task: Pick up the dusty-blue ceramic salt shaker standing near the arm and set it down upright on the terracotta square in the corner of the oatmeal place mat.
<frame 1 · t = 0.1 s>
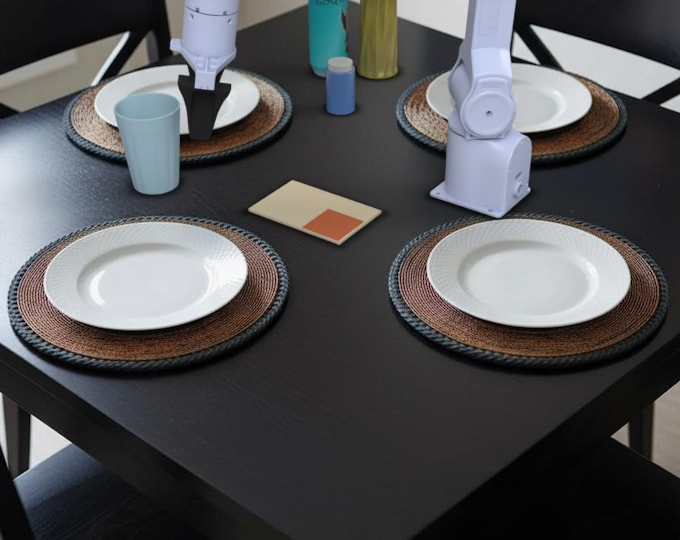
hand: (200, 123, 117), 11 cm above the table, tool pointing down, fingers open, 7 cm apart
cup: (156, 185, 128), on the table
place mat: (314, 212, 121), on the table
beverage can: (329, 72, 156), on the table
salt shaker: (340, 108, 145), on the table
vase: (377, 73, 156), on the table
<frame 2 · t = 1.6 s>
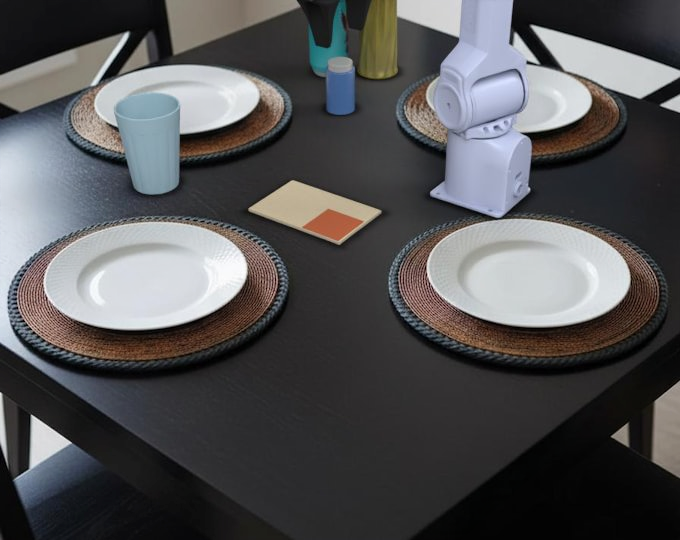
hand: (339, 37, 139), 10 cm above the table, tool pointing down, fingers open, 7 cm apart
nothing on the table moved.
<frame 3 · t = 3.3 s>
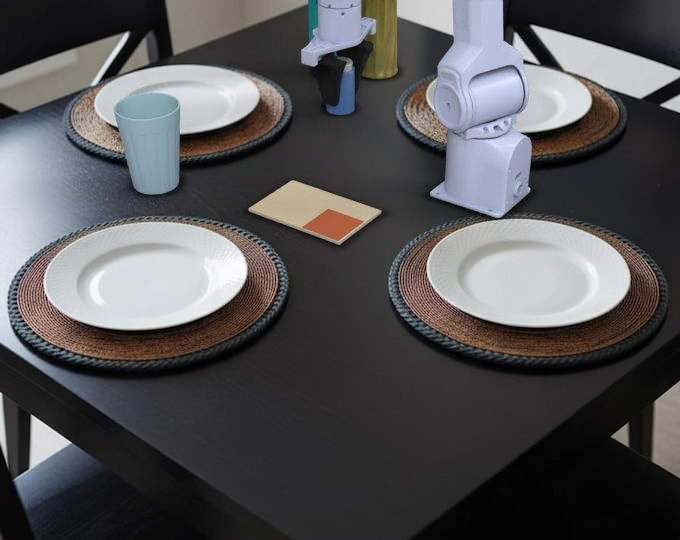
hand: (340, 98, 144), 2 cm above the table, tool pointing down, fingers closed on salt shaker, 4 cm apart
salt shaker: (340, 108, 145), on the table, touching gripper
everything else where it was.
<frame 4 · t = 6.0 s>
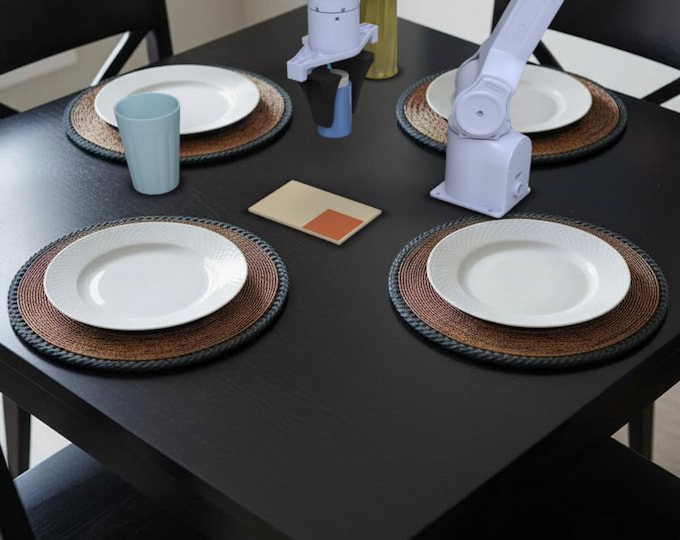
hand: (335, 118, 122), 9 cm above the table, tool pointing down, fingers closed on salt shaker, 4 cm apart
salt shaker: (334, 130, 123), point 7 cm above the table, touching gripper
everything else where it was.
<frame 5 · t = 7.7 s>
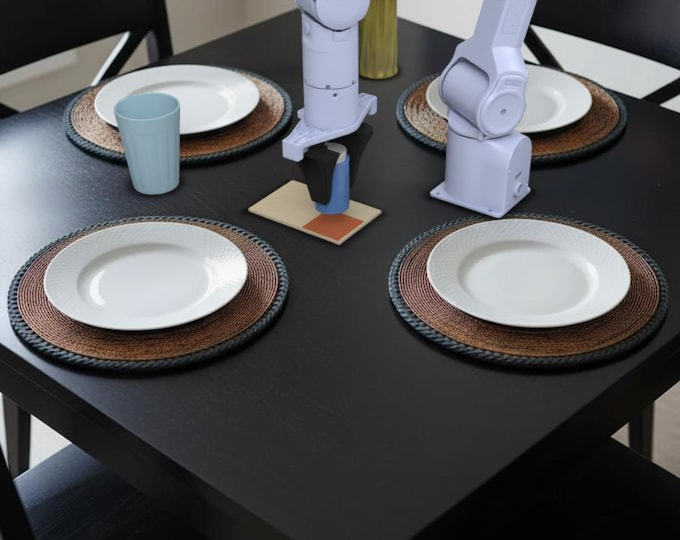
hand: (332, 193, 116), 4 cm above the table, tool pointing down, fingers closed on salt shaker, 4 cm apart
salt shaker: (331, 205, 117), point 3 cm above the table, touching gripper
everything else where it was.
when the fingers open (2 cm above the table, at t = 8.8 s): salt shaker stays where it is, resting on place mat.
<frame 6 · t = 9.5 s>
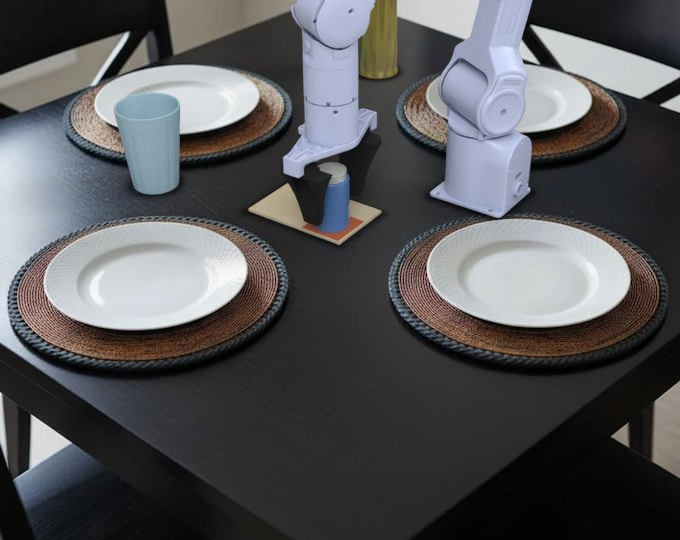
hand: (333, 208, 117), 3 cm above the table, tool pointing down, fingers open, 7 cm apart
salt shaker: (332, 224, 118), resting on place mat
everything else where it was.
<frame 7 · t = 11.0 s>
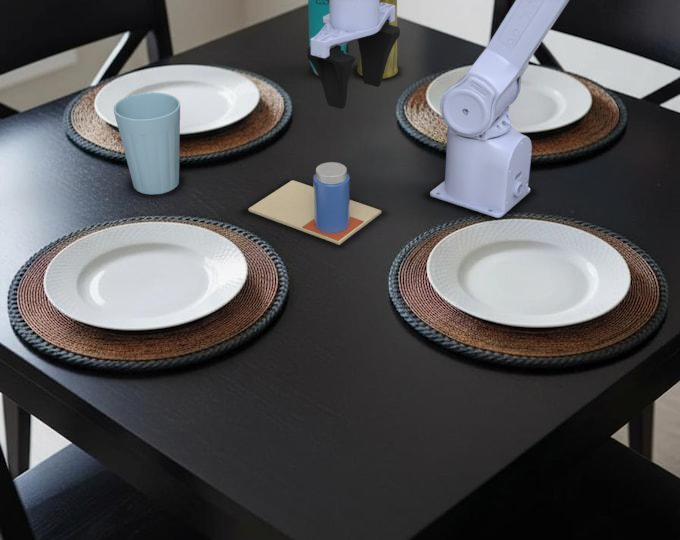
hand: (354, 95, 126), 9 cm above the table, tool pointing down, fingers open, 7 cm apart
nothing on the table moved.
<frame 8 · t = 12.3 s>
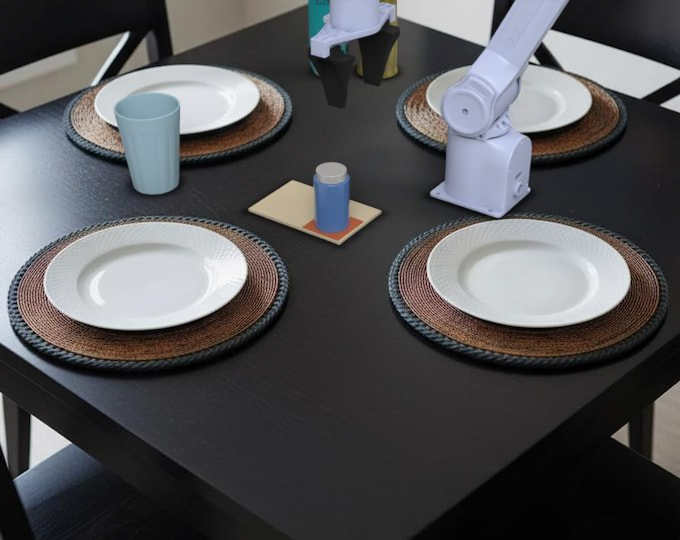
hand: (354, 94, 126), 9 cm above the table, tool pointing down, fingers open, 7 cm apart
nothing on the table moved.
at the end: salt shaker 0.1 cm from the target spot on the place mat, point 0.5 cm above the place mat's base; salt shaker tilted 0°; the gripper is holding nothing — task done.
